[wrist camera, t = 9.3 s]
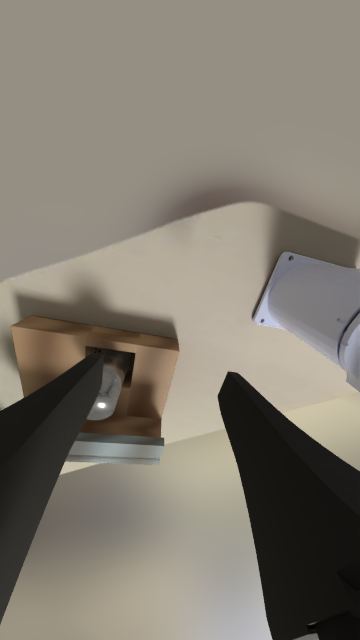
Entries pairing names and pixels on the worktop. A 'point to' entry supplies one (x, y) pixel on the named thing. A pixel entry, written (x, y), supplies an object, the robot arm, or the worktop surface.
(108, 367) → the peg
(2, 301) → the worktop surface
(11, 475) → the robot arm
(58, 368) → the socket board
